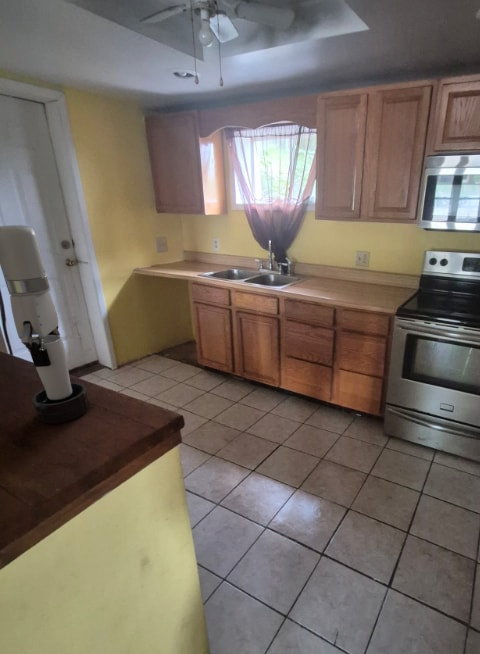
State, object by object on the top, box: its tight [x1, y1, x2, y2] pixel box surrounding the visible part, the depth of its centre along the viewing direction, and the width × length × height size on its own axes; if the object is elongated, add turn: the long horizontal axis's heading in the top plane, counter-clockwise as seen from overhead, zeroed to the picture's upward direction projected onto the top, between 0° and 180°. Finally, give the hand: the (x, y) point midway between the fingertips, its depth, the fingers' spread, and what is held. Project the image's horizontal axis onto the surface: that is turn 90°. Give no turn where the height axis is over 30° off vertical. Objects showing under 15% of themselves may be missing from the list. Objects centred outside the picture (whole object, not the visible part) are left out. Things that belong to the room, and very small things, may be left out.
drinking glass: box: [29, 335, 72, 400], centre depth 89 cm, size 7×7×15 cm
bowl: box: [31, 382, 90, 425], centre depth 93 cm, size 11×11×6 cm
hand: (49, 358), depth 88 cm, fingers closed on drinking glass, 6 cm apart
